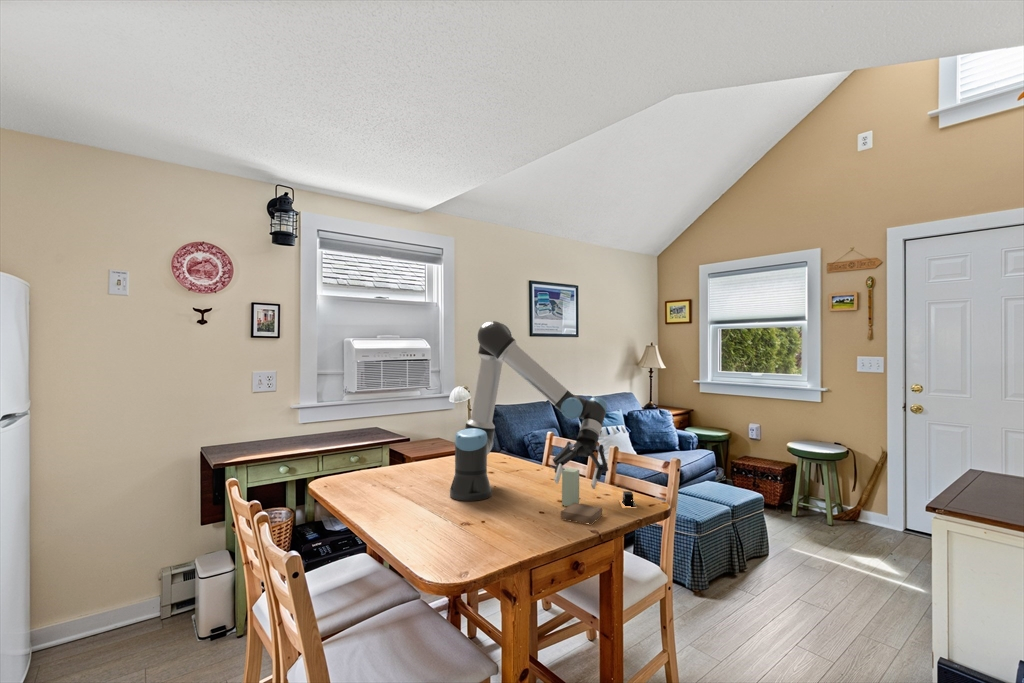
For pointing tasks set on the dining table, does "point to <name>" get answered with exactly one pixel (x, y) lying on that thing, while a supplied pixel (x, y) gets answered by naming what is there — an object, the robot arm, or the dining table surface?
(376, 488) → the dining table surface
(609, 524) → the dining table surface
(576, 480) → the pillar
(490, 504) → the dining table surface
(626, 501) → the black boxy device
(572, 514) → the slab
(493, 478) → the dining table surface
